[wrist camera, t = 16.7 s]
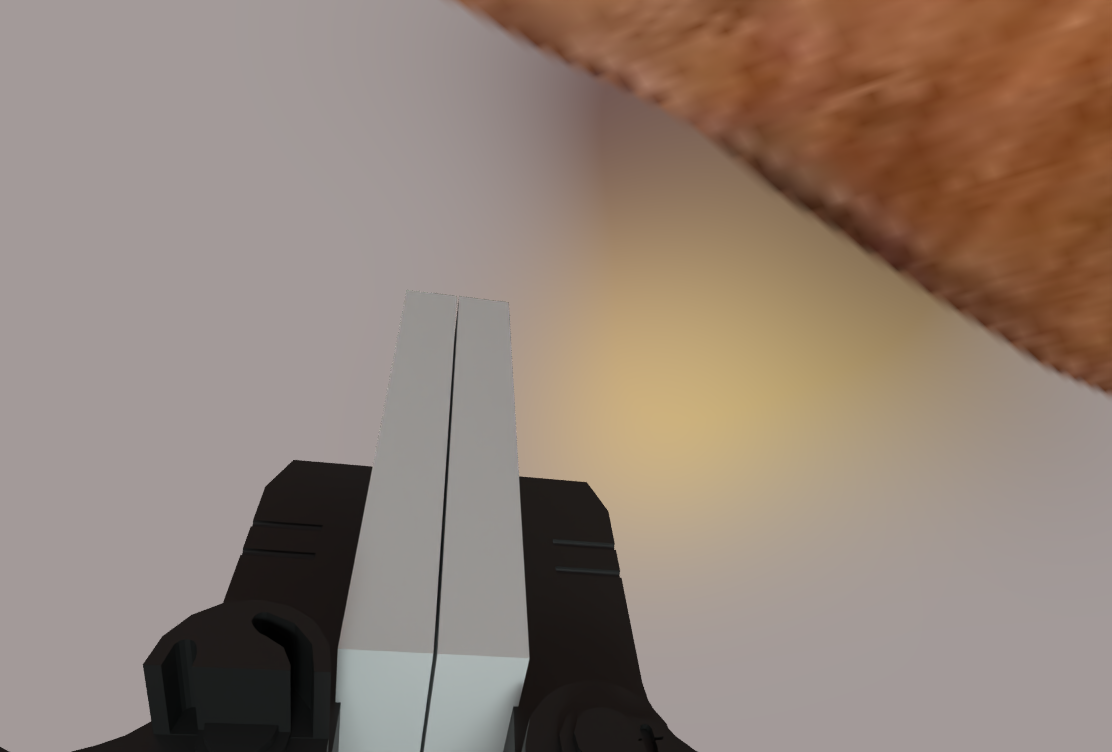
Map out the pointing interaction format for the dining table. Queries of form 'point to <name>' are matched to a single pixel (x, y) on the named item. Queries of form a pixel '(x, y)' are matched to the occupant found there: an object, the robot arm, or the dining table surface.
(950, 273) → the dining table surface
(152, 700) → the robot arm
